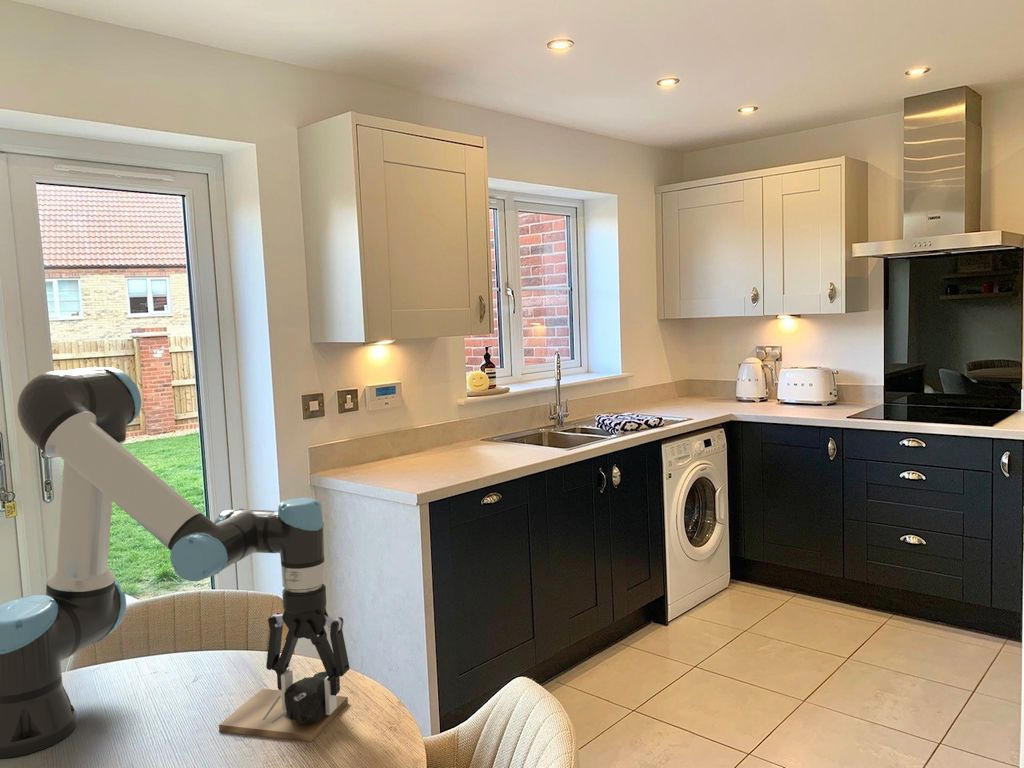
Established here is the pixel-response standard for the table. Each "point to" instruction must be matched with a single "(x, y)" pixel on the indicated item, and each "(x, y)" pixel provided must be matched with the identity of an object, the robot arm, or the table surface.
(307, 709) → the rock
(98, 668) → the table surface
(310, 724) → the board
